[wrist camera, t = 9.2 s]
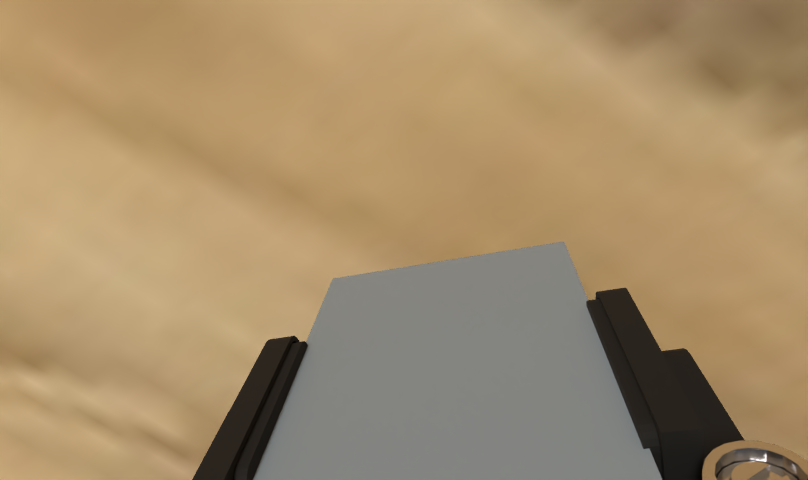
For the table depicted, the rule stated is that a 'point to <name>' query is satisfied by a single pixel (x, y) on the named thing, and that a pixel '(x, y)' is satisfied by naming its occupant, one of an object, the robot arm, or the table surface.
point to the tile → (457, 379)
